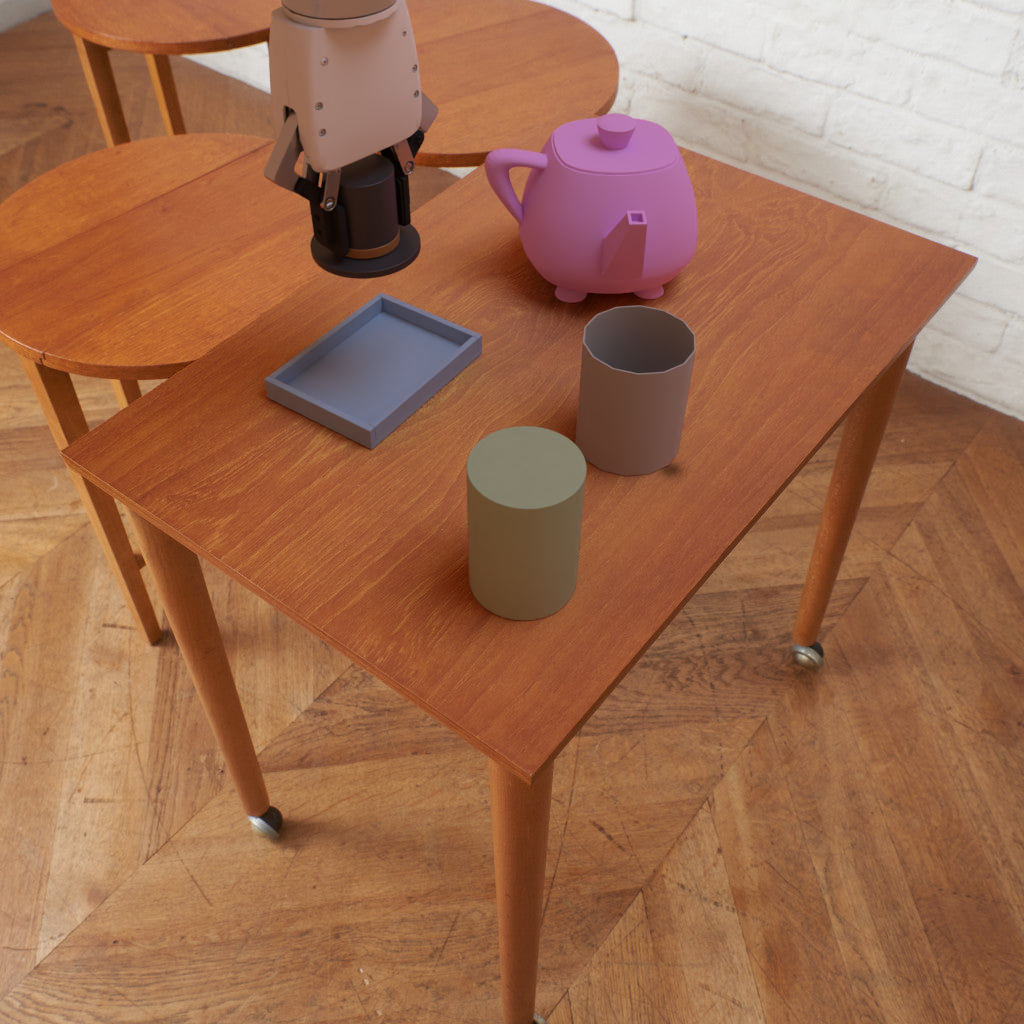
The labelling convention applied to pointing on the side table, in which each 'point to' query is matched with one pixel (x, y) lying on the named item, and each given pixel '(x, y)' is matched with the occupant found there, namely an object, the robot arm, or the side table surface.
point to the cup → (633, 389)
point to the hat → (370, 224)
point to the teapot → (602, 207)
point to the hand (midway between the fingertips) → (364, 231)
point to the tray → (374, 369)
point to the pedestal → (524, 521)
